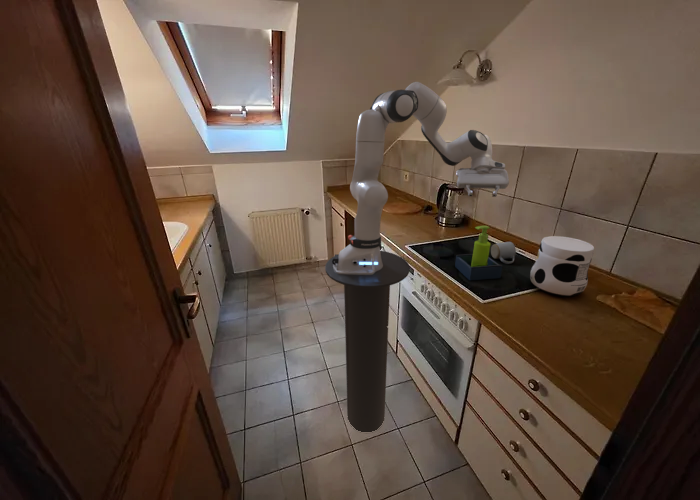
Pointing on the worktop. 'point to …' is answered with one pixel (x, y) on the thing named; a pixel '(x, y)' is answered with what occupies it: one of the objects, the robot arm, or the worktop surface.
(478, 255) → the soap dispenser
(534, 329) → the worktop surface
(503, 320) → the worktop surface
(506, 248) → the ceramic mug
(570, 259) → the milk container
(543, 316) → the worktop surface
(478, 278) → the blue open box
